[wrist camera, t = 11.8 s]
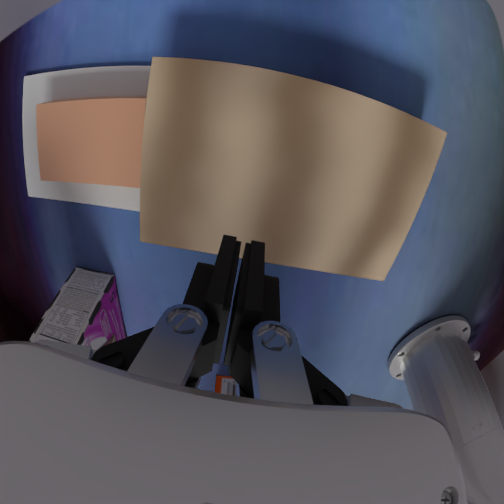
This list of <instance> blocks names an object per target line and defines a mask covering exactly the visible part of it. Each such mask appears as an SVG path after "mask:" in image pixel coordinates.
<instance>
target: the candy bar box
mask: <svg viewBox="0 0 504 504" xmlns="http://www.w3.org/2000/svg"><path fill="white" fill-rule="evenodd" d="M126 337H127V336H126V331H125V327H124V323H123V318H122V313H121V308H120V304H119V298H118V293H117V286H116V280H115V275H113V274H109V273H105V272H98V271H92V270H88V269H84V268H78V267H75V269H74V270H73V271H72V273H71V274H70V276H69V277H68V279H67V280H66V282H65V283H64V284H63V286H62V287H61V289H60V290H59V292H58V294H57V295H56V297H55V298H54V300H53V301H52V303H51V304H50V306H49V308H48V309H47V311H46V312H45V314H44V315H43V317H42V319H41V321H40V322H39V324H38V326H37V327H36V329H35V331H34V332H33V334H32V336H31V338H30V339H29V341H28V342H35V341H38V340H50V341H56V342H62V343H69V344H77V345H84V346H91V348H92V349H93V350H98V349H99V348H101V347H103V346H105V345H108V344H110V343H113V342H116V341H118V340H121V339H124V338H126Z"/></svg>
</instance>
